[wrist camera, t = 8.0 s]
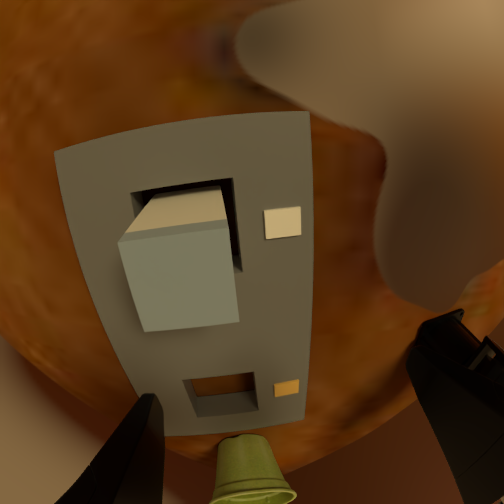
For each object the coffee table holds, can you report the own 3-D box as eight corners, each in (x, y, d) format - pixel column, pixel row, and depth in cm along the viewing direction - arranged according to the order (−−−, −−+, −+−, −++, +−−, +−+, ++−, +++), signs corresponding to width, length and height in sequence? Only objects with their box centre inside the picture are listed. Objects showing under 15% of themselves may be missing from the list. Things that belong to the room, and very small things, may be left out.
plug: (220, 185, 17) (228, 227, 10) (226, 246, 19) (239, 321, 11) (155, 194, 17) (117, 242, 9) (166, 253, 18) (144, 332, 11)
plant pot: (219, 420, 26) (227, 491, 19) (295, 428, 29) (313, 489, 21) (195, 454, 29) (198, 511, 22) (261, 460, 32) (271, 512, 24)
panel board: (295, 113, 16) (310, 111, 13) (297, 400, 26) (304, 420, 24) (72, 147, 14) (52, 152, 12) (164, 417, 25) (162, 437, 23)
